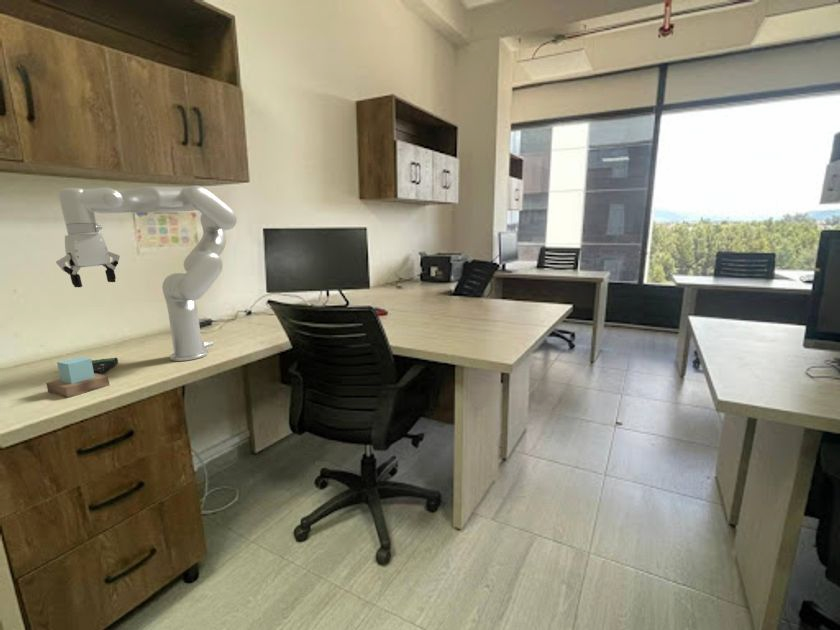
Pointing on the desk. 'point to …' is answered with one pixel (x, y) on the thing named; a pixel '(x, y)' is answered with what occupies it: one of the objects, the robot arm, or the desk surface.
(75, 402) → the desk surface
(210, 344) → the robot arm
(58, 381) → the walnut base
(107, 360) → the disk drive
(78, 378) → the teal cube
